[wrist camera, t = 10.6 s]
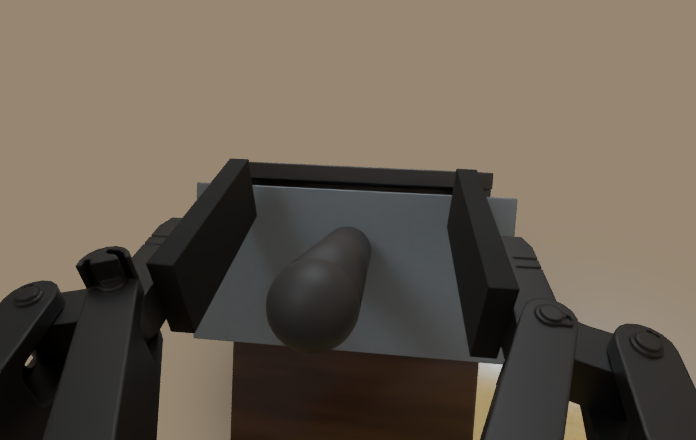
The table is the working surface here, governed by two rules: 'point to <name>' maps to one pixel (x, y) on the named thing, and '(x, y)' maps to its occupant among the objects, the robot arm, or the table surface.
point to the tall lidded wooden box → (351, 354)
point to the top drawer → (347, 274)
